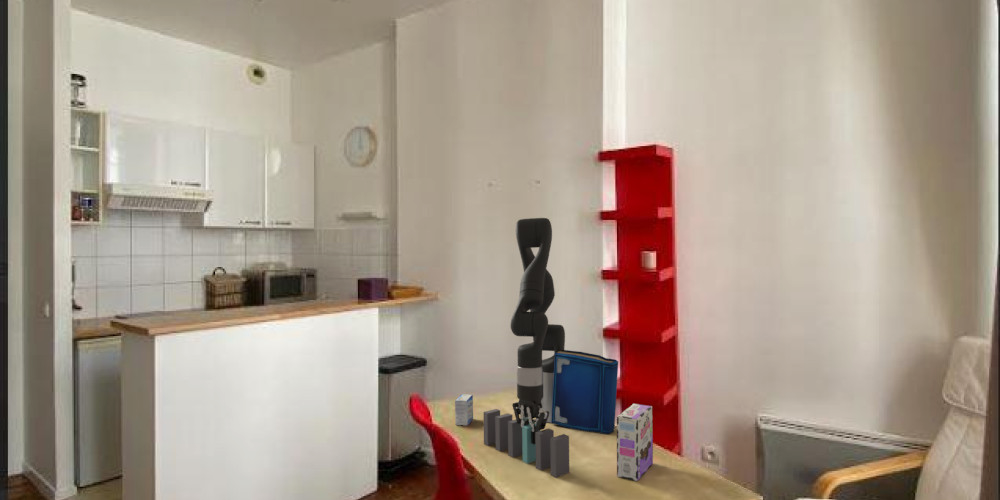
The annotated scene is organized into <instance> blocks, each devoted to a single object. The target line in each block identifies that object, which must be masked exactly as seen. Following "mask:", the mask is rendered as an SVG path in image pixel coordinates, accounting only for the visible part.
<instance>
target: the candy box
mask: <svg viewBox="0 0 1000 500" xmlns="http://www.w3.org/2000/svg"><path fill="white" fill-rule="evenodd" d="M653 427H654V426H653V406H652V405H646V404H639V403H632V405H630V406H628V407H627V408H626V409H625V410H623V411H622V412H621V413H620V414H618V415H617V416H616V476H617V477H619V478H623V479H628V480H630V481H631V480H632V481H634V482H638V481H639V480H640V479H641V478H642V477H643V475H645V474H646V472H647V471H648V470H649V468H650V467H651V466H652V465H653V464H654V462H653V461H654V454H653V453H654V451H653V450H654V449H653V448H654V446H653V444H654V443H653V442H654V441H653V440H654V438H653V437H654V436H653V431H654V430H653Z"/></svg>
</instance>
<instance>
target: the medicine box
mask: <svg viewBox="0 0 1000 500" xmlns="http://www.w3.org/2000/svg"><path fill="white" fill-rule="evenodd" d="M454 415H455V418H454V420H455V425H456V426H461V425H463V426H465V427H466V426H469V425H470V423H471V422H472V421H473V419H474V396H473V394H461V395H460V396H458V397H457V398H456V400H455V401H454Z"/></svg>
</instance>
